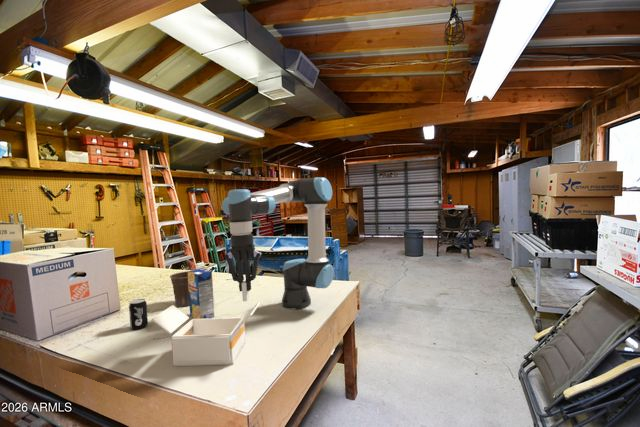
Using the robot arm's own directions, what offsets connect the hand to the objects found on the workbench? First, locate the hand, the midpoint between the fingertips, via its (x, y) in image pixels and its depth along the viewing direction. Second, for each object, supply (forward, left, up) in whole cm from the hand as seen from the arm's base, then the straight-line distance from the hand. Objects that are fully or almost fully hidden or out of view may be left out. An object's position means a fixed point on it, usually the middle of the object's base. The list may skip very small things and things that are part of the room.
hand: (246, 299), depth 99 cm
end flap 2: (+3, 0, -9) cm, 9 cm away
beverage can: (+56, -24, -19) cm, 64 cm away
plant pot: (+49, -54, -19) cm, 75 cm away
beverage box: (+32, -34, -19) cm, 50 cm away
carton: (+13, 0, -19) cm, 23 cm away
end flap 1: (+24, 0, -9) cm, 25 cm away
